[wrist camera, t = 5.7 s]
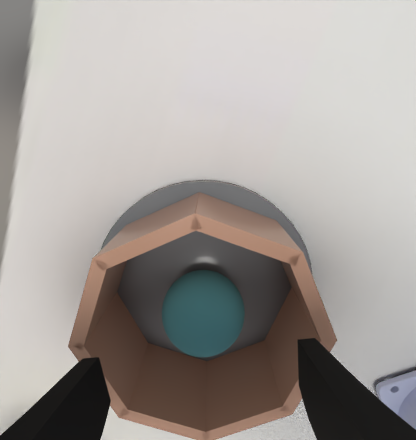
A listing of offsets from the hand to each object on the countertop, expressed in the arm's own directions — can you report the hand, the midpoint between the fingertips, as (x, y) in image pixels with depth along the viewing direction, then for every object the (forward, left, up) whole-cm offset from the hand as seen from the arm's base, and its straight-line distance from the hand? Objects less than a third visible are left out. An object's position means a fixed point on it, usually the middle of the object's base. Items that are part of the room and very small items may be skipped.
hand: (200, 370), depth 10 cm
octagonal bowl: (0, 0, -6) cm, 6 cm away
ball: (0, 0, -4) cm, 4 cm away
